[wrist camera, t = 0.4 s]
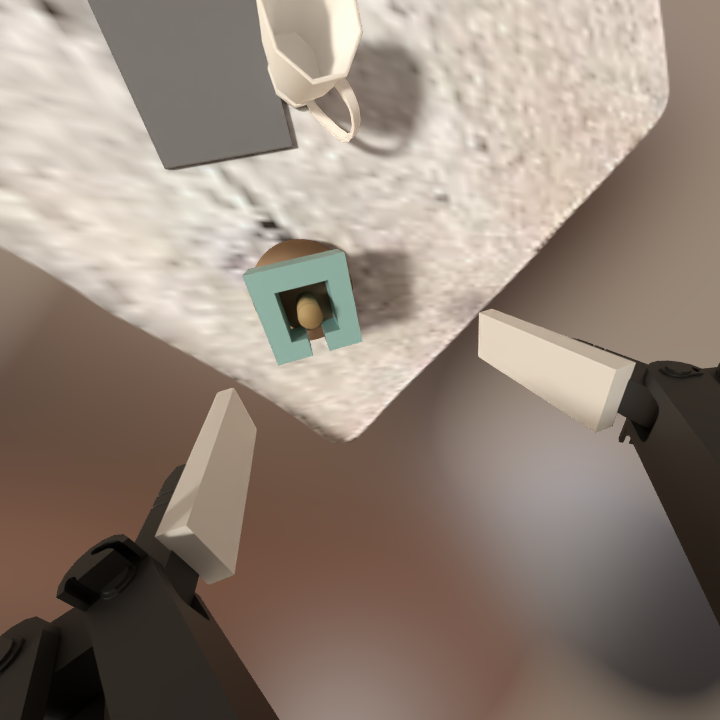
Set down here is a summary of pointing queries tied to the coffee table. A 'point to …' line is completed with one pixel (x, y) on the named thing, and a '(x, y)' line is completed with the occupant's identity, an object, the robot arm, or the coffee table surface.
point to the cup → (312, 53)
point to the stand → (302, 288)
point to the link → (297, 274)
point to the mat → (196, 76)
